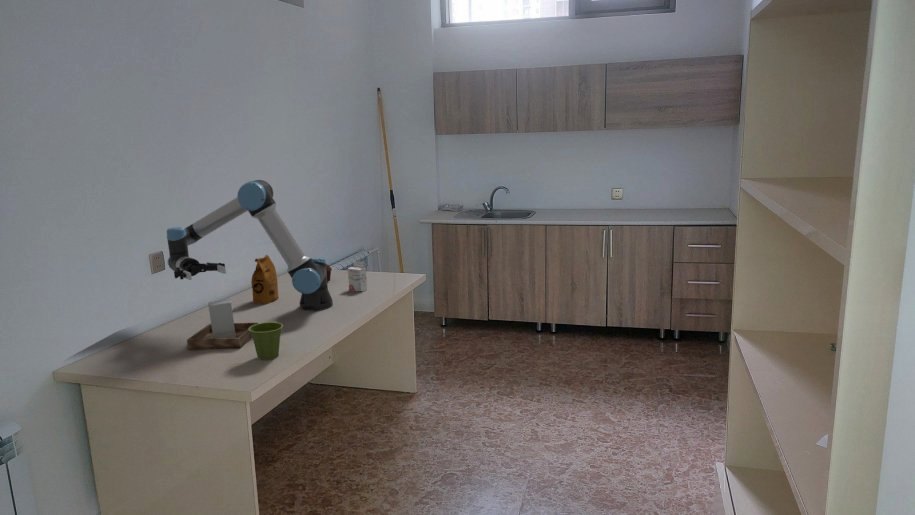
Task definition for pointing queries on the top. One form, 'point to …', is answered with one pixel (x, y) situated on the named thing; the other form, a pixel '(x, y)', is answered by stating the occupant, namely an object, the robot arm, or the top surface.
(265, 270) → the coffee package
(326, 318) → the top surface
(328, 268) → the muffin
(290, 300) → the top surface
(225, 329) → the skincare box
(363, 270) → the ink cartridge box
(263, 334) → the plant pot
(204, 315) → the top surface
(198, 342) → the walnut tray
